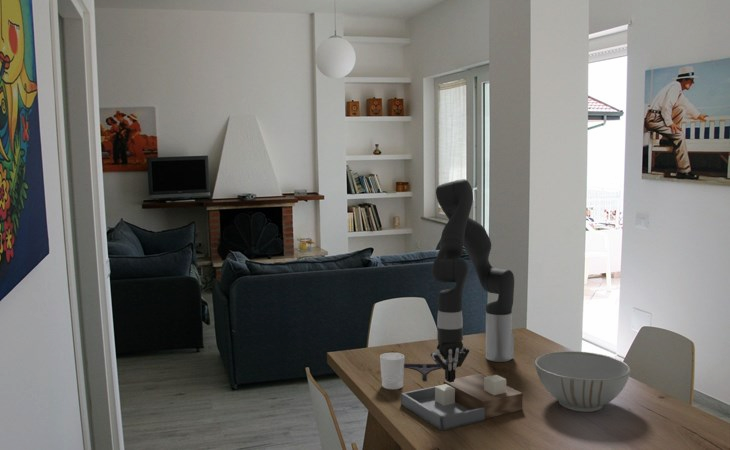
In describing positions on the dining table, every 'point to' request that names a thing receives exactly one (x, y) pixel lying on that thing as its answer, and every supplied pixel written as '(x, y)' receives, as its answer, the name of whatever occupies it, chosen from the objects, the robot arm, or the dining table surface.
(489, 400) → the walnut board
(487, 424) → the dining table surface
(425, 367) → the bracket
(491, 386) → the off-white cube
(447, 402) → the cream cube
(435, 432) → the dining table surface
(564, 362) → the decorative bowl
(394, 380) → the white cup
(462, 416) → the tray
